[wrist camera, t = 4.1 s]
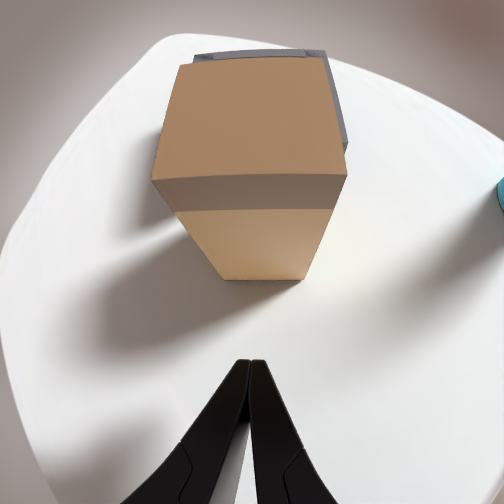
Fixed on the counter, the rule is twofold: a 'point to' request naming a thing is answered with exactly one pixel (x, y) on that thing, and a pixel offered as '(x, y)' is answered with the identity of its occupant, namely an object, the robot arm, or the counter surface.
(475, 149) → the counter surface
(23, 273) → the counter surface
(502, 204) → the tube
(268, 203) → the tan cardboard box
